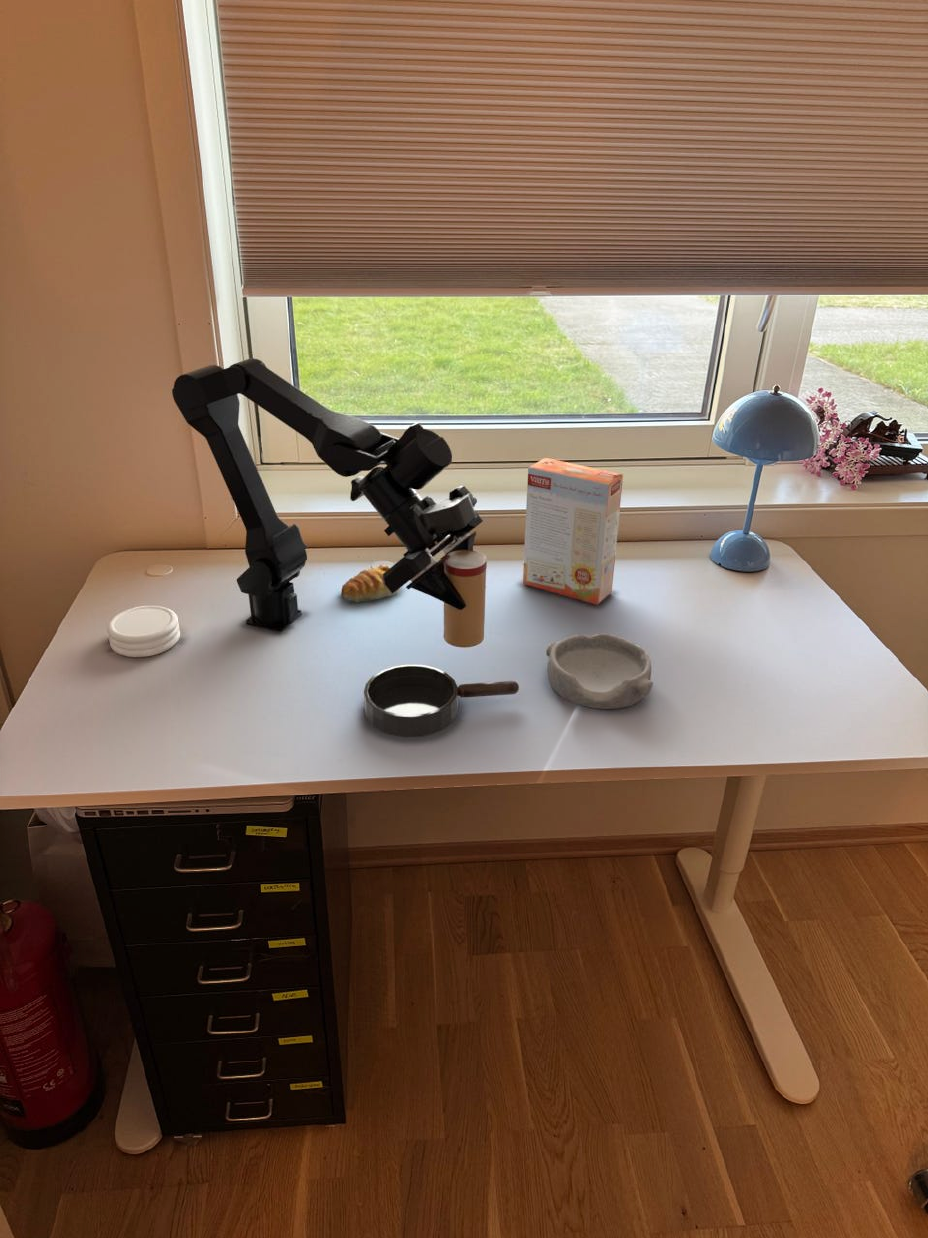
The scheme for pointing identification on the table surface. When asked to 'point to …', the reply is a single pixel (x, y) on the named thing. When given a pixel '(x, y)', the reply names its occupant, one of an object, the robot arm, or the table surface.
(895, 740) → the table surface
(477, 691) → the pan handle
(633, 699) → the dish
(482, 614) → the cracker tube
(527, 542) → the cracker box
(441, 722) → the pan
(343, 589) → the pastry
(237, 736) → the table surface
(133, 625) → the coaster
